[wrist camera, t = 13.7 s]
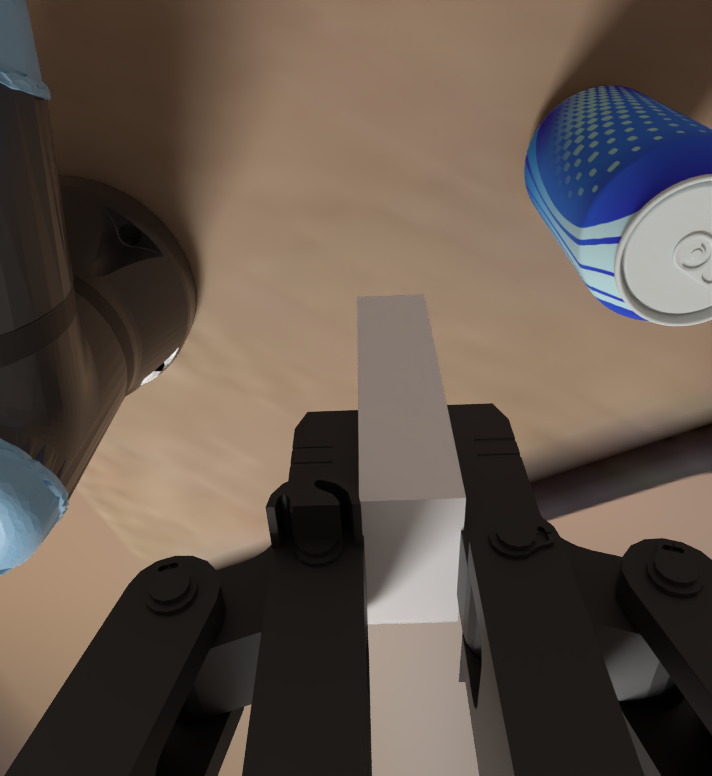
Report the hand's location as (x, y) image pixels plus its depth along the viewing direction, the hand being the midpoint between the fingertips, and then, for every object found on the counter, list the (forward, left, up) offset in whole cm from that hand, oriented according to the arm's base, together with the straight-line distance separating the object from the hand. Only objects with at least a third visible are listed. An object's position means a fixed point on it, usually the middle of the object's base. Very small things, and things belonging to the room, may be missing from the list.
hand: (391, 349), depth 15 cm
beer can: (+13, -3, -29) cm, 32 cm away
